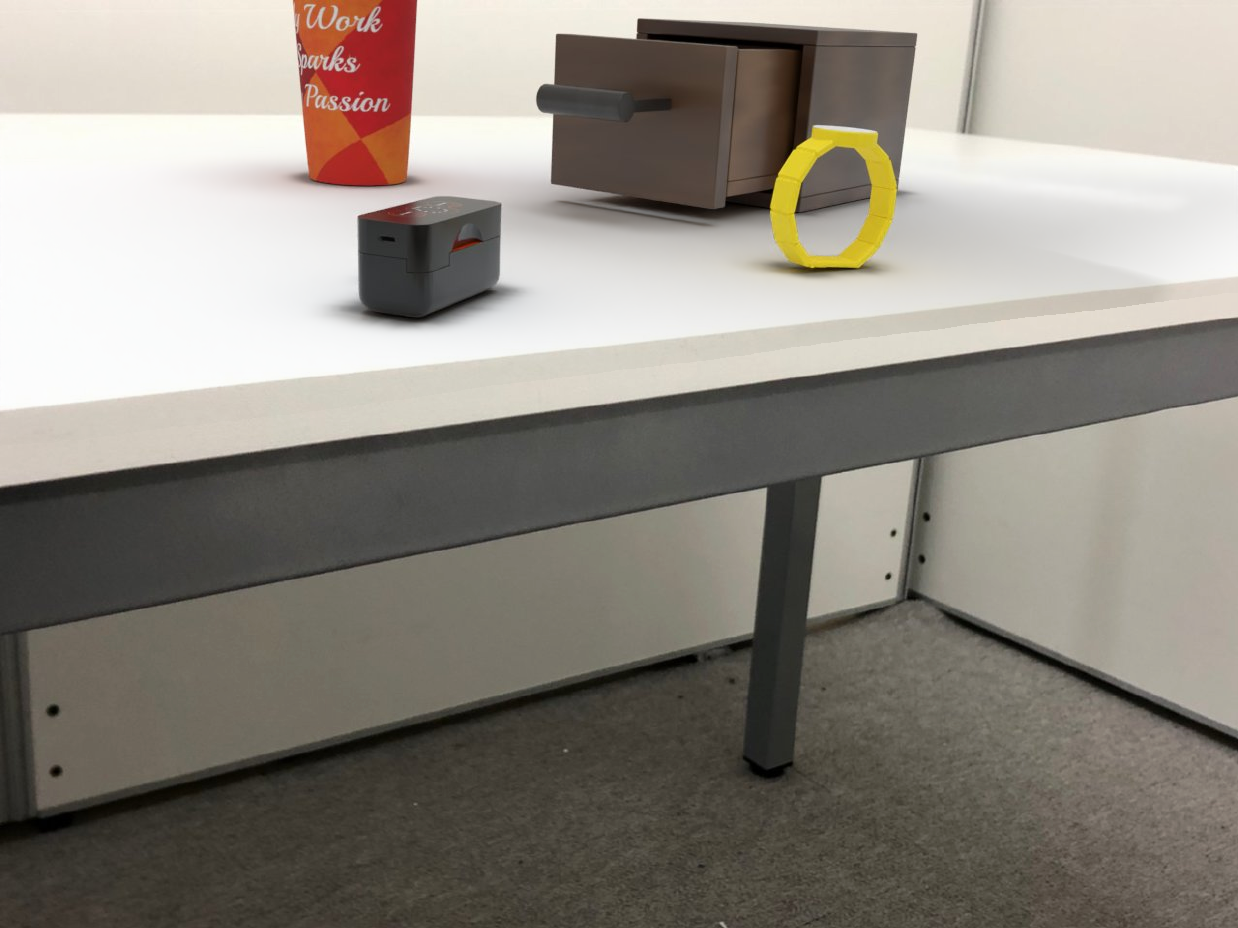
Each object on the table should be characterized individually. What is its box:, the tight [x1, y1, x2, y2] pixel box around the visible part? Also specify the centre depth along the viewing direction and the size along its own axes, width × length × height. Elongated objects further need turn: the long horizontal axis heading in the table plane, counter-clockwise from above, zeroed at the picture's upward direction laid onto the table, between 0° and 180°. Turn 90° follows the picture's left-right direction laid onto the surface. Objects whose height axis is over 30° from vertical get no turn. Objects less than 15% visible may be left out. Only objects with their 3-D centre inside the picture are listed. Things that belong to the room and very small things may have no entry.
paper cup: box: [292, 0, 418, 187], centre depth 71 cm, size 8×8×14 cm
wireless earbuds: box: [356, 195, 502, 318], centre depth 46 cm, size 5×7×3 cm, turn 159°
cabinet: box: [635, 17, 918, 213], centre depth 77 cm, size 14×12×10 cm
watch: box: [769, 125, 898, 269], centre depth 54 cm, size 6×3×6 cm, turn 121°
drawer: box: [535, 33, 803, 210], centre depth 68 cm, size 17×10×8 cm, turn 145°
